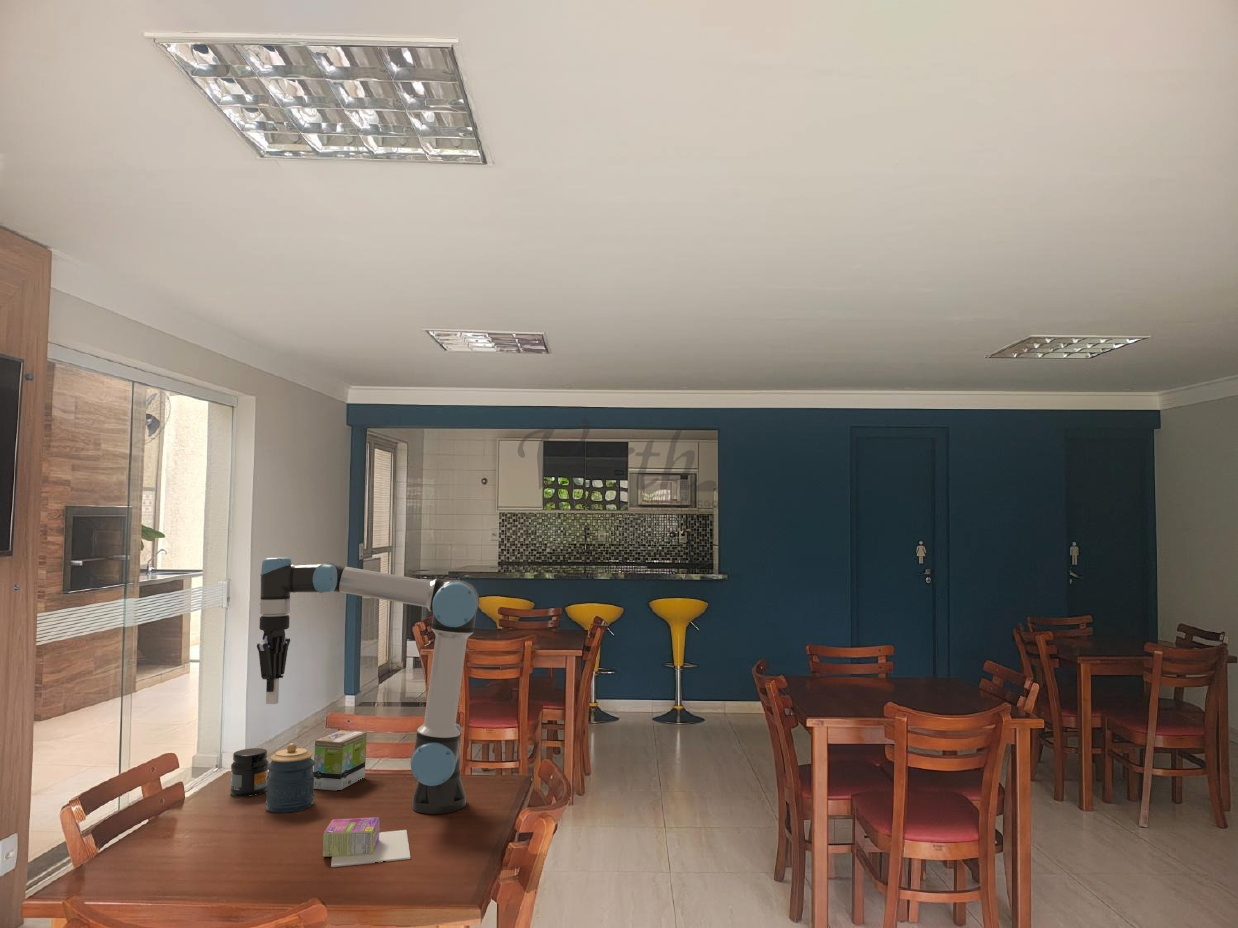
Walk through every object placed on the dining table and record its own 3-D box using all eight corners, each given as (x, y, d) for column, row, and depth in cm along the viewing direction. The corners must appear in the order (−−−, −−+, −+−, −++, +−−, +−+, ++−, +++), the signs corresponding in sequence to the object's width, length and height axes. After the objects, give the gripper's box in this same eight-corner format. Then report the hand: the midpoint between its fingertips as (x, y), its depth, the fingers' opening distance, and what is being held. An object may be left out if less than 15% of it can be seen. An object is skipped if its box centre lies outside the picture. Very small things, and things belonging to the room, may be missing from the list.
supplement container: (275, 789, 259) (276, 749, 260) (247, 799, 249) (249, 757, 250) (250, 785, 263) (251, 746, 264) (221, 795, 254) (223, 753, 255)
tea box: (341, 791, 257) (343, 741, 259) (311, 789, 259) (313, 739, 261) (366, 777, 272) (367, 730, 273) (337, 775, 274) (338, 729, 275)
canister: (323, 804, 245) (325, 741, 246) (284, 816, 234) (286, 751, 235) (294, 796, 252) (296, 736, 253) (255, 808, 241) (257, 744, 242)
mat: (406, 831, 222) (406, 829, 222) (410, 858, 203) (410, 857, 203) (334, 838, 217) (334, 836, 217) (331, 867, 198) (331, 865, 198)
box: (332, 818, 214) (380, 816, 215) (331, 841, 214) (379, 839, 215) (322, 832, 204) (372, 830, 205) (321, 856, 203) (372, 855, 204)
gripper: (274, 612, 237) (272, 698, 235) (248, 616, 224) (245, 707, 222) (300, 612, 236) (297, 699, 234) (274, 617, 223) (271, 708, 221)
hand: (272, 703), depth 228 cm, fingers closed
